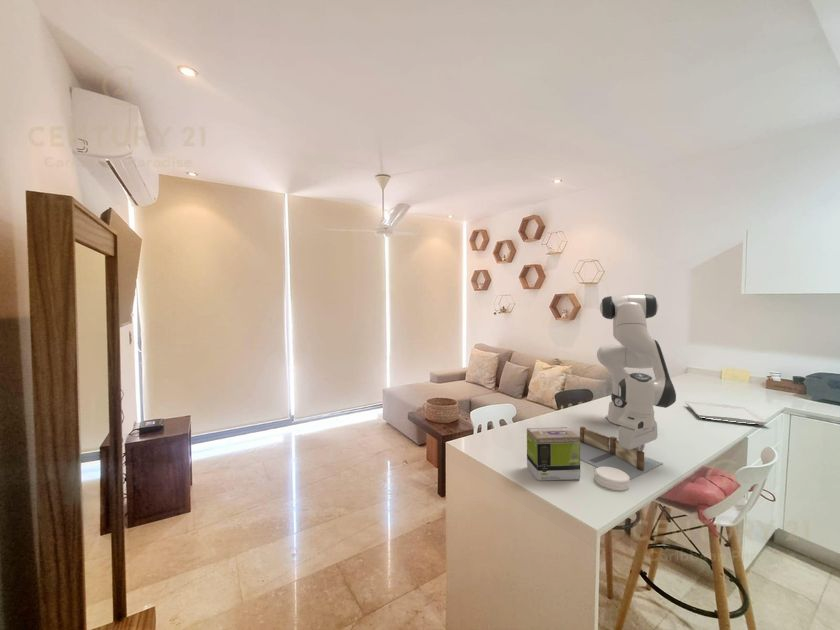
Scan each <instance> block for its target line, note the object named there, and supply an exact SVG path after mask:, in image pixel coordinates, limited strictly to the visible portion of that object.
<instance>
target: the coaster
mask: <svg viewBox="0 0 840 630" xmlns="http://www.w3.org/2000/svg"><path fill="white" fill-rule="evenodd" d="M594 480H595V482H596V483H597V484H598V485H600V486H601V487H603V488H605V489H608V490H612V491H617V492H618V491H619V492H622V491H623V492H624V491H627V490H629V488H630V486H631V485H630V484H631V482H630V480H631V479H630V478H629V476H628V475H627V474H626V473H625V472H623V471H621V470H619V469H616V468H612V467H598V468H597V467H595V470H594Z"/></svg>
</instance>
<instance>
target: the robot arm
mask: <svg viewBox="0 0 840 630" xmlns="http://www.w3.org/2000/svg"><path fill="white" fill-rule="evenodd" d="M658 310H659V302H658V300H657V298H656V297H655V296H654V294H648V293H645V294H628V293H627V294H621V295H615V296H612V295H609V296H606V297H603V298H602V299H601V301H600V304H599V311H600V314H601V315H602V317H603V318H605V319H607V320H612V334H613V335H612V336H613V338H614V339H615V340H616V341H617V342H618V343H619V344H620V345H619V344H606V345H601V346H600V347H599V348H598V350H596V358H597V361H598V362H599V363H600V364H601V365H603V366H604V367H605V368H606V370H607V371H608V372H609V374H610V377H611V381H612V382H611V383H612V392H611V395H610V398H611V399H610V400H611V401H610V402H609V403H608V410H607V414H606V415H605V418H606V419H607V421H609V422H610V423H612V424H615V425H617V426H619V428H618V441H619V445H620V447H622V448H624V449H627V450H631V449H635V450H637V451H642V452H644V450H645V447H646V444H648V443H651V442H653V441H656V440H657V439H658V435H659V434H658V423H657V421H656V420H655V409H654V406H655V407H659V408H664V409H665V408H666V409H667V408H669V407H670V406H672V405H673V404H675V403H676V401H677V393H676V389H675V386H674V384H673V382H672V379H671V377H670V373H669V370H668V367H667V364H666V361H665V356H664V355H663V351H662V348H661V346H660V344H659V341H658V340H655V339H654V338H652V336H651V335H650V333H649V331H648V326H647V319H650V318H653V317H655V316H657V313H658ZM624 368H630V369H640V370H641V369H642V370H643V369H651V368H652V370H653V374H654V377H655V379H653V377H652V376H651V375H649V374H646V373H643V372H633V373H628V372H626V371H625V369H624Z"/></svg>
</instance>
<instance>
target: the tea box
mask: <svg viewBox="0 0 840 630" xmlns="http://www.w3.org/2000/svg"><path fill="white" fill-rule="evenodd" d="M526 465H527V466H526V467H527V468H528V470H529V472H532V473H531V474H532V476H533V477H534V478H535V479H536V480H537V481H563V480H564V481H566V480H570V481H571V480H572V481H573V480H581V460H580V435H577V434H575V432H573V431H572V430H570V429H569V428H568V427H563V426H562V427H536V428H535V427H534V428H533V427H532V428H531V427H529V428H526Z"/></svg>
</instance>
